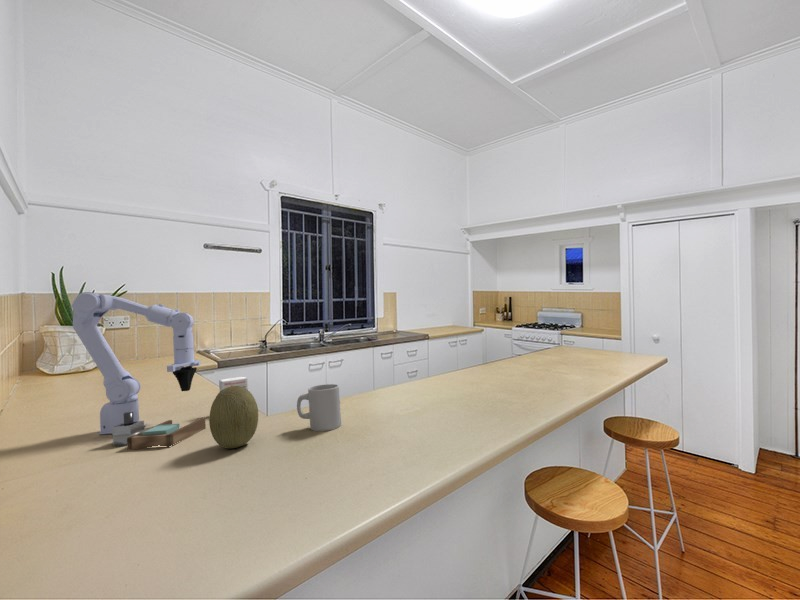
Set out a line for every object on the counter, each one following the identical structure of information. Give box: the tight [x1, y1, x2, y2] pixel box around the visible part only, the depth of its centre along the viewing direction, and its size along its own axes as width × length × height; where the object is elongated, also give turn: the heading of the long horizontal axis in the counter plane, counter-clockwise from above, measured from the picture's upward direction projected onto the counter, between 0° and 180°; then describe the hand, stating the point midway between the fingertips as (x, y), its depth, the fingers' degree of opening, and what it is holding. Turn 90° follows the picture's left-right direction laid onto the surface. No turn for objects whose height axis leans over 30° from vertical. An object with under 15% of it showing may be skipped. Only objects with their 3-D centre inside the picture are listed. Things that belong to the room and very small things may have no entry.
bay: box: [127, 417, 207, 450], centre depth 103 cm, size 11×16×3 cm
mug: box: [296, 383, 342, 432], centre depth 104 cm, size 12×8×11 cm
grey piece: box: [112, 420, 145, 448], centre depth 102 cm, size 7×7×5 cm
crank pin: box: [123, 412, 134, 426], centre depth 103 cm, size 2×2×6 cm
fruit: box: [208, 386, 259, 449], centre depth 92 cm, size 11×11×15 cm
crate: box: [142, 423, 180, 436], centre depth 100 cm, size 6×6×4 cm
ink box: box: [218, 376, 249, 392], centre depth 129 cm, size 8×5×12 cm, turn 124°
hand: (185, 390), depth 122 cm, fingers closed
